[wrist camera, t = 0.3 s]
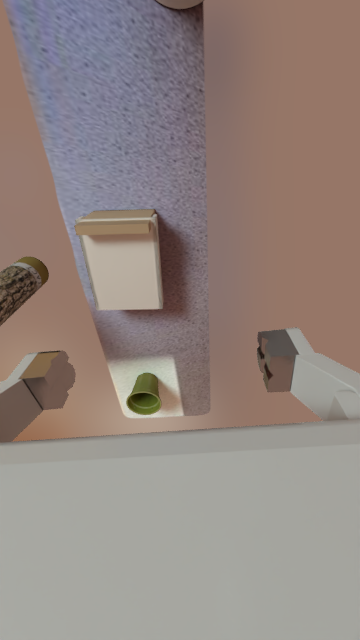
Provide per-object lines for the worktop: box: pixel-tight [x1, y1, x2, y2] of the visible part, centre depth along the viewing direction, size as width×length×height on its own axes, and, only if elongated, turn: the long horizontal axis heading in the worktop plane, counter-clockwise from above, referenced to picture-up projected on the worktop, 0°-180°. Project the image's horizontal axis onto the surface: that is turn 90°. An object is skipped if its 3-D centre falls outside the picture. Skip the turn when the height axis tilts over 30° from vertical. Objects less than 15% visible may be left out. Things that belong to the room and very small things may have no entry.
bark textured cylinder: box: [0, 257, 49, 326], centre depth 48 cm, size 7×7×25 cm
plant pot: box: [126, 373, 161, 415], centre depth 73 cm, size 9×9×9 cm
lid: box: [75, 214, 163, 310], centre depth 49 cm, size 18×14×6 cm
